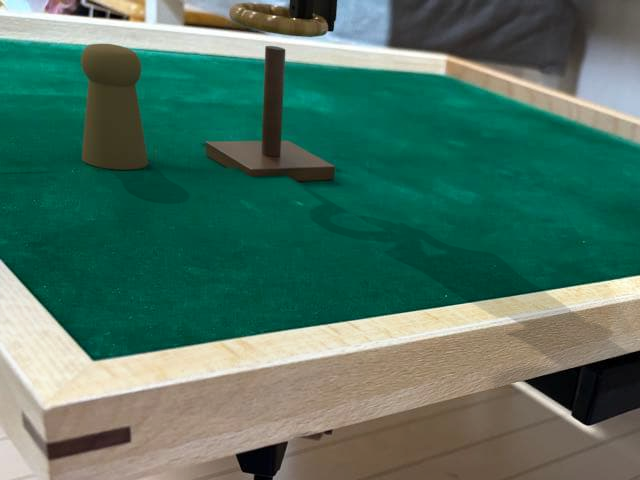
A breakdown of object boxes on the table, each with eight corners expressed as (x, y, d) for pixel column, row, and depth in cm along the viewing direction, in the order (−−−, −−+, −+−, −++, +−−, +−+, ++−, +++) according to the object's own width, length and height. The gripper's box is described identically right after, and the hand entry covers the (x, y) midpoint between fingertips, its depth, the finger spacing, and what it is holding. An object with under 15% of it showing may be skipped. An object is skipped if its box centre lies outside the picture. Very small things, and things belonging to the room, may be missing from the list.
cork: (154, 157, 92) (152, 46, 86) (140, 173, 86) (137, 56, 81) (91, 148, 90) (85, 35, 85) (73, 163, 85) (66, 44, 80)
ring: (258, 35, 84) (259, 17, 83) (212, 14, 89) (212, -2, 89) (345, 40, 90) (346, 24, 89) (297, 21, 96) (297, 5, 95)
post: (250, 183, 90) (254, 56, 84) (205, 155, 96) (206, 33, 90) (334, 179, 97) (343, 61, 91) (287, 153, 103) (293, 40, 97)
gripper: (370, -163, 91) (355, 26, 100) (226, -201, 80) (223, 15, 89) (414, -156, 87) (394, 40, 95) (267, -195, 76) (260, 30, 85)
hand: (312, 26), depth 92 cm, fingers closed on ring, 2 cm apart
